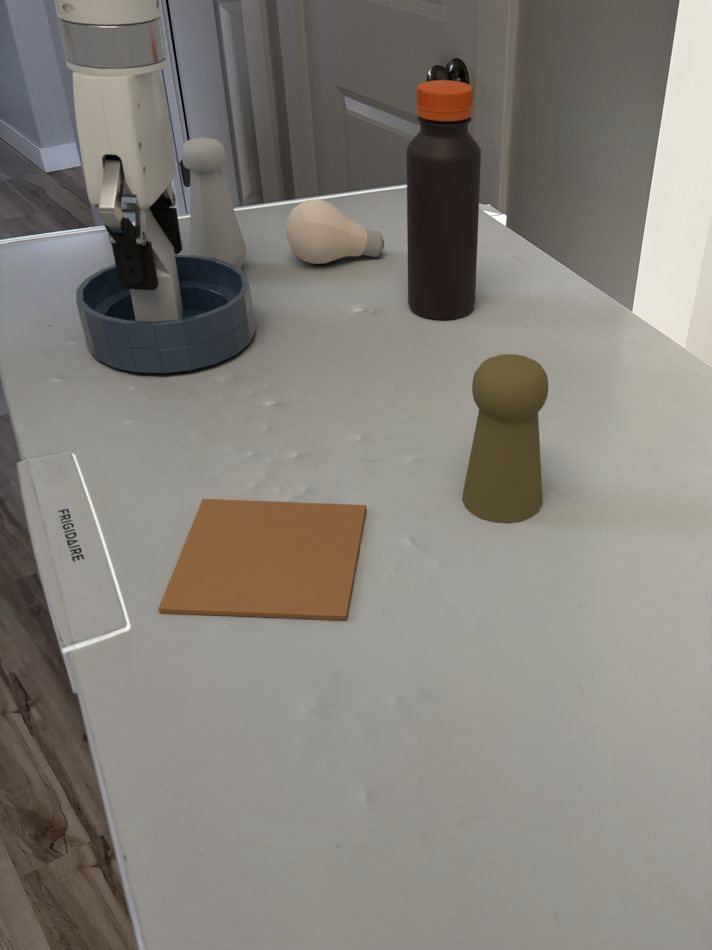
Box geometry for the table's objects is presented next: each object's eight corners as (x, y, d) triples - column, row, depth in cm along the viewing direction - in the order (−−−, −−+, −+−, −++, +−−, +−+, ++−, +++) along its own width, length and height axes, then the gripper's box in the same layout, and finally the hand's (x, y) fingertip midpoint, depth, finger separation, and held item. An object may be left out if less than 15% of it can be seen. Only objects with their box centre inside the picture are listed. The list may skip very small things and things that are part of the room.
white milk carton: (182, 308, 89) (166, 201, 83) (181, 339, 84) (164, 228, 78) (143, 309, 89) (123, 201, 82) (139, 341, 84) (118, 229, 77)
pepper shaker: (458, 476, 71) (462, 343, 64) (536, 474, 72) (549, 342, 64) (466, 524, 67) (471, 387, 59) (549, 521, 67) (564, 384, 60)
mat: (159, 613, 59) (158, 608, 59) (203, 503, 68) (202, 498, 68) (346, 620, 59) (346, 616, 59) (366, 509, 68) (366, 504, 68)
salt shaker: (240, 257, 102) (223, 129, 94) (255, 276, 99) (239, 145, 90) (187, 265, 100) (165, 136, 92) (201, 285, 97) (179, 152, 88)
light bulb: (386, 202, 103) (289, 180, 98) (398, 235, 99) (297, 214, 94) (370, 255, 107) (276, 236, 103) (380, 288, 103) (283, 271, 99)
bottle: (487, 303, 95) (498, 85, 82) (451, 327, 91) (457, 101, 77) (431, 287, 98) (433, 73, 84) (394, 310, 93) (390, 88, 80)
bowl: (65, 374, 82) (50, 320, 79) (117, 301, 93) (106, 252, 90) (236, 380, 82) (228, 327, 79) (268, 306, 93) (262, 257, 90)
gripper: (101, 19, 78) (139, 232, 90) (22, 67, 65) (78, 308, 77) (190, 24, 78) (216, 236, 90) (129, 73, 65) (169, 313, 77)
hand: (152, 268), depth 83 cm, fingers closed on white milk carton, 7 cm apart
